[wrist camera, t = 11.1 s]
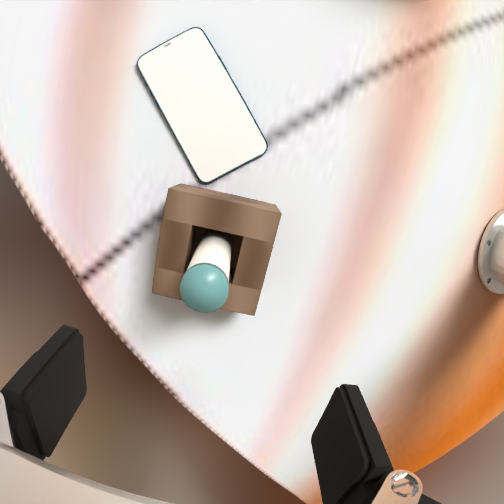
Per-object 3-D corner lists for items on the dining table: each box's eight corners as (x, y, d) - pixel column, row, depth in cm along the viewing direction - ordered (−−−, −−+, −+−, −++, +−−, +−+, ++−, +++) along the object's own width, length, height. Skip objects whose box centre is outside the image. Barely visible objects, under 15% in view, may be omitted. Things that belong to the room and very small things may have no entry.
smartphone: (271, 150, 32) (200, 26, 28) (271, 150, 31) (199, 23, 27) (202, 186, 33) (135, 62, 29) (201, 187, 32) (133, 60, 28)
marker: (235, 231, 33) (233, 273, 21) (228, 261, 34) (223, 316, 22) (203, 224, 32) (183, 262, 21) (197, 254, 33) (176, 306, 22)
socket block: (275, 204, 33) (281, 213, 28) (252, 292, 36) (254, 315, 30) (180, 183, 32) (168, 188, 27) (164, 273, 35) (151, 292, 30)
